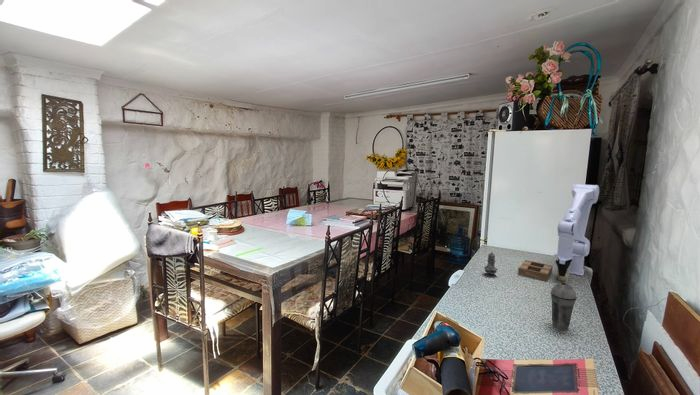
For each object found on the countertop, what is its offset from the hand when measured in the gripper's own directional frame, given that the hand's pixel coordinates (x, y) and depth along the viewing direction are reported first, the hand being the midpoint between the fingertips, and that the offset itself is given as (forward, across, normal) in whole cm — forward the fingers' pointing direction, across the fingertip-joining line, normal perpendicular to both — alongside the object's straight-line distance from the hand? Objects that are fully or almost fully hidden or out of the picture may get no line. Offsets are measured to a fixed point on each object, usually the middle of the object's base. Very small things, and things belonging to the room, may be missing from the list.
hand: (562, 274), depth 142 cm
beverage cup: (+3, +48, +5) cm, 48 cm away
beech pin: (+2, 0, 0) cm, 2 cm away
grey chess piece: (+3, +17, -27) cm, 32 cm away
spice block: (+2, 0, -11) cm, 11 cm away
